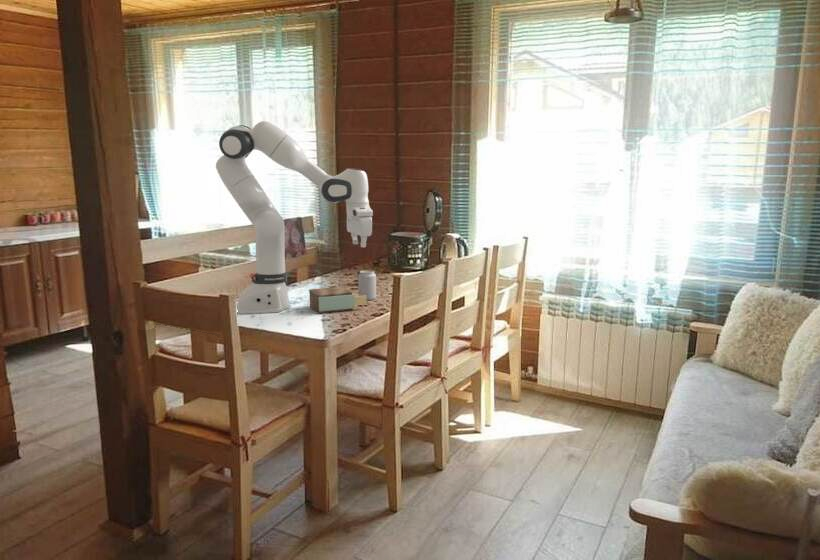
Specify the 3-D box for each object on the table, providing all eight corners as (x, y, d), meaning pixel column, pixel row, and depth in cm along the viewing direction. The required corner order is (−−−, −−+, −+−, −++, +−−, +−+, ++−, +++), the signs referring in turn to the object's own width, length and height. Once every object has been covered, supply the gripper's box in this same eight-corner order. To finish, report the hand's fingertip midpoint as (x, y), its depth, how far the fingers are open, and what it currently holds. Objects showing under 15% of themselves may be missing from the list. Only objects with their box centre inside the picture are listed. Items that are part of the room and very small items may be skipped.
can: (373, 301, 261) (373, 272, 259) (356, 300, 263) (355, 272, 261) (378, 297, 269) (377, 270, 266) (361, 296, 270) (360, 269, 268)
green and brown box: (317, 313, 241) (317, 295, 239) (309, 306, 252) (309, 289, 251) (352, 309, 246) (352, 292, 245) (343, 303, 257) (342, 286, 256)
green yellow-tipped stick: (319, 311, 240) (318, 297, 239) (318, 311, 240) (318, 297, 239) (366, 307, 247) (366, 293, 246) (365, 306, 248) (365, 293, 247)
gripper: (342, 209, 251) (343, 243, 254) (358, 212, 233) (360, 249, 235) (357, 208, 254) (358, 242, 256) (374, 211, 235) (375, 248, 238)
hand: (359, 245), depth 246 cm, fingers open, 8 cm apart
